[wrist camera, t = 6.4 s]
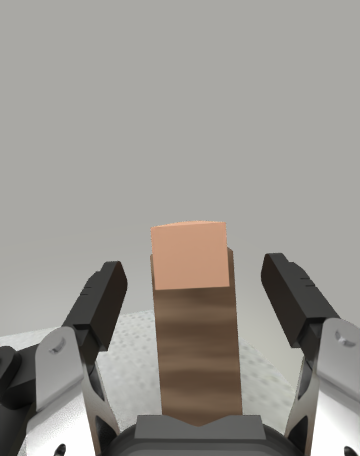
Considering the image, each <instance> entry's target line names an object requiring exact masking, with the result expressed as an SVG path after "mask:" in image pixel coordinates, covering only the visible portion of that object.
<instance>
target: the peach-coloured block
mask: <svg viewBox="0 0 360 456" xmlns="http://www.w3.org/2000/svg"><path fill="white" fill-rule="evenodd" d="M151 238H152V239H151V240H152V253H153V266H154V279H155V290H165V289H186V288H207V287H228V286H229V270H228V254H227V238H226V223H225V222H213V221H188V222H177V223H172V224H166V225H161V226H155V227H151Z"/></svg>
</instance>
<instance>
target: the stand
mask: <svg viewBox="0 0 360 456" xmlns="http://www.w3.org/2000/svg"><path fill="white" fill-rule="evenodd" d="M227 254H228V270H229V286H228V287H207V288H186V289H165V290H155V279H154V266H153V254H152V255H151V256H150V260H151V273H152V285H153V300H154V313H155V326H156V339H157V352H158V365H159V378H160V391H161V404H162V415H167V416H170V417H173V418H175V419H178V420H180V421H183V422H185V423H188V424H191V425H193V426H196V427H200V426H203V425H206V424H208V423H211V422H213V421H216V420H219V419H221V418H224V417H226V416H229V415H243V414H242V397H241V380H240V363H239V346H238V331H237V330H238V329H237V312H236V296H235V295H236V294H235V279H234V262H233V261H234V260H233V251H232V250H231V249H229V248H228V247H227Z"/></svg>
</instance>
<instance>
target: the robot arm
mask: <svg viewBox="0 0 360 456" xmlns="http://www.w3.org/2000/svg"><path fill="white" fill-rule="evenodd" d="M261 281H262V284H263V287H264V289H265V291H266V293H267V296H268V298H269V300H270V302H271V304H272V306H273V309H274V311H275V313H276V315H277V318H278V320H279V322H280V324H281V326H282V328H283V331H284V333H285V335H286V337H287V339H288V342H289V344H290V346H291V348H301V349H302V351H303V353H304V357H303V360H302V365H301V371H300V375H299V380H298V386H297V390H296V395H295V399H294V403H293V406H292V409H291V411H290V414H289V418H288V421H287V426H286V430H285V435H284V436H283V435H282V434H281V433H279V432H278V431H276V430H275V429H273V428H271V427H269V426H267V425H264V424H262V420H261V416H260V415H229V416H226V417H224V418H221V419H219V420H216V421H213V422H211V423H208V424H206V425H203V426H200V427H196V426H193V425H191V424H188V423H185V422H183V421H180V420H178V419H175V418H173V417H170V416H167V415H138V417H137V423H136V424H134V425H132V426H131V427H129V428H127V429H125V430H124V431H123V432H122V433H120V430H119V427H118V423H117V420H116V418H115V415H114V413H113V411H112V409H111V407H110V404H109V402H108V399H107V395H106V392H105V388H104V385H103V381H102V378H101V374H100V371H99V368H98V364H97V361H96V358H97V355H98V353H99V352H101V351H108V348H109V344H110V341H111V338H112V335H113V332H114V329H115V326H116V323H117V319H118V316H119V313H120V310H121V307H122V303H123V301H124V297H125V294H126V291H127V278H126V275H125V272H124V270H123V267H122V264H121V262H120V261H113V262H112V261H111V262H105V263H104V265H103V267H102V269H101V271H99V272H96V273H94V274H93V275H92V276H91V277H90V278H89V279H88V281H87V283H86V284H85V287H84V289H83V290H82V292H81V293H80V296H79V297H78V299H77V300H76V302H75V304H74V306H73V308H72V309H71V311H70V313H69V314H68V316H67V318H66V320H65V321H64V323H63V325H62V326H61V327H60V328H57V329H55V330H54V331H52V332H51V333H49V334H48V335H47V336H46V337H45V338H44V339H43V340H42V341H41V343H39V344H36V345H33V346H31V347H28V348H25V349H22V350H19V351H16V350H14V349H13V348H12V347H10V346H2V347H0V456H17V454H18V452H19V450H20V448H21V445H22V443H23V441H24V439H25V437H26V456H360V328H358V327H357V326H355V325H354V324H352V323H350V322H348V321H346V320H343V319H341V318H340V317H339V316H338V314H337V313H336V312H335V311H334V309H333V308H332V306H331V305H330V304H329V303H328V301H327V300H326V299H325V297H324V296H323V295H322V293H321V292H320V291H319V289H318V288H317V287H315V284H314V283H313V281H312V280H310V278H309V276H308V275H307V274H306V272H305V271H304V270H303V269H302V268H301V267H299V266H298V265H297V264H295V263H294V262H288V260H287V259H286V257H285V256H284V255H283V254H282V253H269V254H265V257H264V262H263V266H262V271H261Z"/></svg>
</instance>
